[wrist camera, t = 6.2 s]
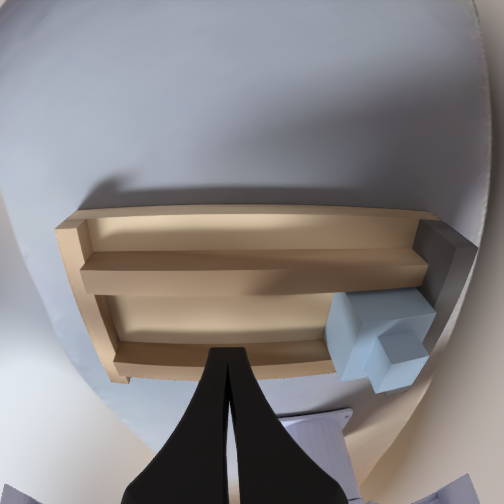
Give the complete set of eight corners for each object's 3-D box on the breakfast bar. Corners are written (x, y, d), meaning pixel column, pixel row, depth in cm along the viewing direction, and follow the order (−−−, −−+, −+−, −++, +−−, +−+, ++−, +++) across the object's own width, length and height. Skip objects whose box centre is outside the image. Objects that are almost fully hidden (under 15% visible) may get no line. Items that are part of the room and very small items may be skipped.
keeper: (385, 328, 15) (419, 390, 11) (323, 336, 15) (349, 408, 11) (405, 274, 13) (454, 336, 9) (336, 278, 13) (377, 352, 9)
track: (383, 346, 18) (406, 391, 14) (119, 356, 16) (104, 408, 13) (428, 211, 13) (478, 247, 10) (76, 210, 12) (29, 252, 8)
